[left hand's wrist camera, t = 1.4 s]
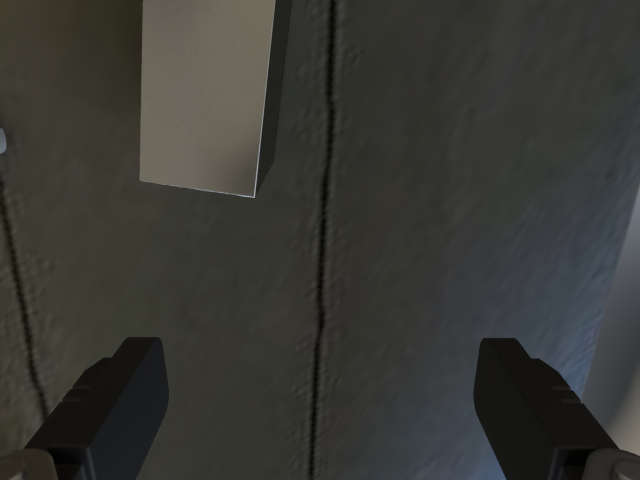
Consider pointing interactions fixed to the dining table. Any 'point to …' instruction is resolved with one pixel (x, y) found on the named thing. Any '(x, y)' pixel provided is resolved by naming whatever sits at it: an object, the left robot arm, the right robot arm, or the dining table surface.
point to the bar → (211, 92)
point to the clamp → (2, 141)
